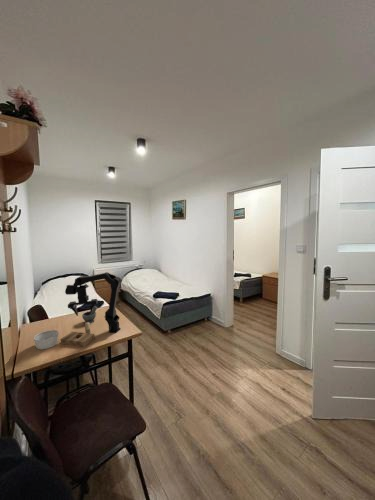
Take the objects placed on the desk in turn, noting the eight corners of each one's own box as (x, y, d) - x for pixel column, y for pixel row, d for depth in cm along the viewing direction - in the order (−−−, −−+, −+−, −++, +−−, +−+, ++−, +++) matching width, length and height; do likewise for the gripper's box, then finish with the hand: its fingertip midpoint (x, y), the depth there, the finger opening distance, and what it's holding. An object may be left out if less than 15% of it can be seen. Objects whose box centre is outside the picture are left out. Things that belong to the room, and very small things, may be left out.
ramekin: (55, 337, 144) (54, 327, 143) (62, 343, 136) (61, 333, 135) (32, 346, 134) (30, 335, 133) (38, 353, 125) (37, 343, 125)
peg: (91, 333, 148) (90, 322, 147) (88, 335, 145) (87, 324, 144) (87, 332, 149) (86, 322, 148) (84, 334, 146) (83, 324, 145)
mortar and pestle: (82, 325, 160) (81, 310, 158) (82, 320, 168) (81, 306, 166) (98, 322, 164) (97, 308, 163) (98, 317, 173) (96, 304, 171)
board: (94, 338, 141) (94, 334, 141) (84, 346, 132) (84, 342, 131) (72, 335, 146) (72, 331, 145) (60, 343, 136) (60, 339, 135)
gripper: (97, 289, 158) (99, 308, 160) (71, 292, 154) (73, 312, 156) (95, 293, 147) (97, 314, 149) (66, 296, 143) (68, 318, 145)
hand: (84, 314), depth 150 cm, fingers open, 9 cm apart
